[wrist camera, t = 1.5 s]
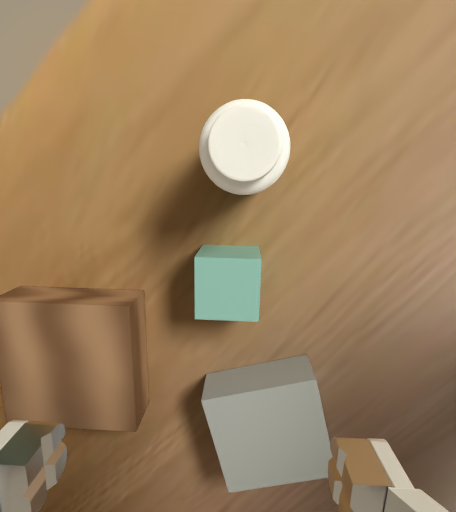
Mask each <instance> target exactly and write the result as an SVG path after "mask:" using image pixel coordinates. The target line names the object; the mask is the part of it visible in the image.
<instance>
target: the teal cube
mask: <svg viewBox="0 0 456 512" xmlns="http://www.w3.org/2000/svg"><path fill="white" fill-rule="evenodd" d="M194 269H195V319H202V320H228V321H254V322H259V304H260V281H261V255H260V250H259V246H230V245H202V247H201V248H200V250H199V251H198V253H197V254H196V256H195V257H194Z"/></svg>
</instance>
